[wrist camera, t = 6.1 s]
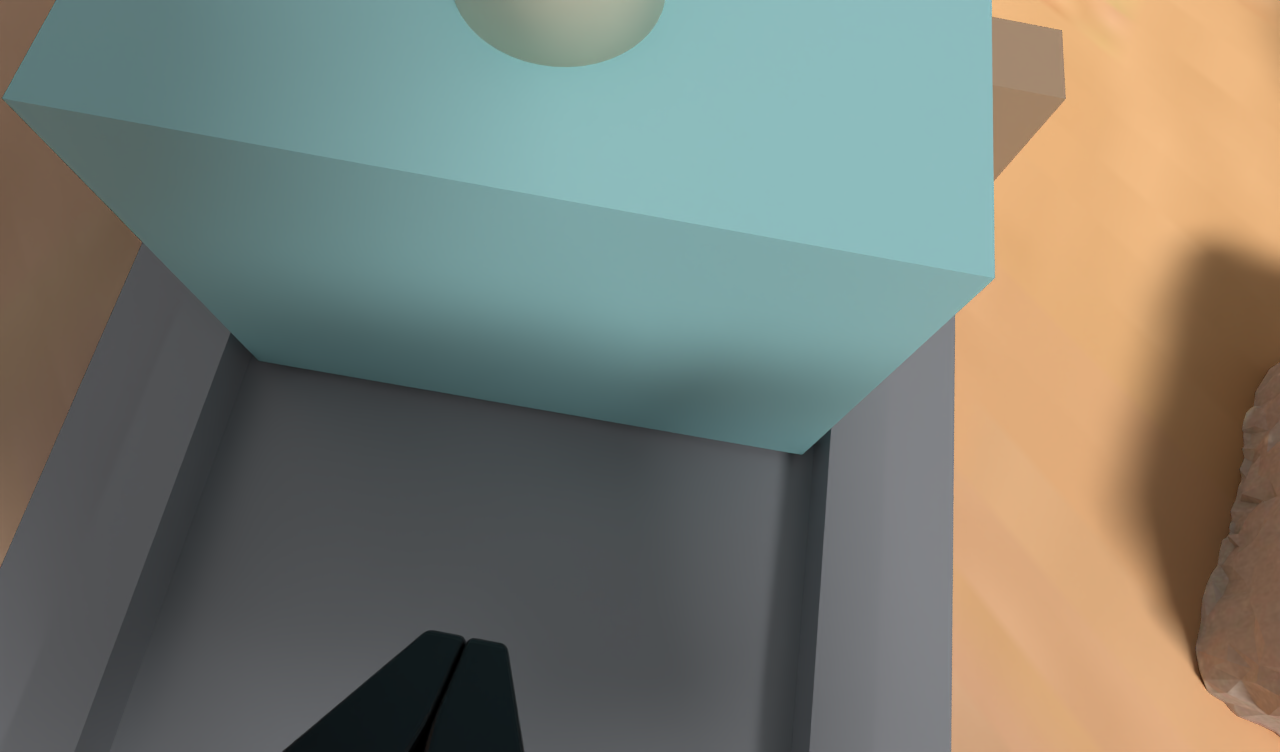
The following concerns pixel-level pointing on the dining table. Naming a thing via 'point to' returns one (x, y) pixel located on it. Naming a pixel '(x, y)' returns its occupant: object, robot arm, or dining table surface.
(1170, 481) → the dining table surface
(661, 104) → the dowel block
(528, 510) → the track
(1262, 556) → the brick
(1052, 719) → the dining table surface
